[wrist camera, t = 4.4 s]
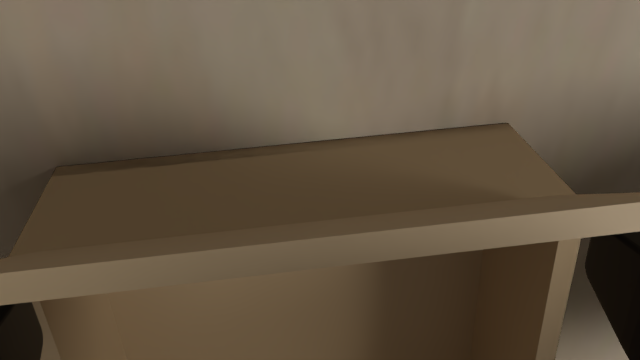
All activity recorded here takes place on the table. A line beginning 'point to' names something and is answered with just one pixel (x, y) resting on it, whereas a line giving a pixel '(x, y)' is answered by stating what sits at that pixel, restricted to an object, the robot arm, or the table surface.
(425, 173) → the carton
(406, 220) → the flap
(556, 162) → the table surface
